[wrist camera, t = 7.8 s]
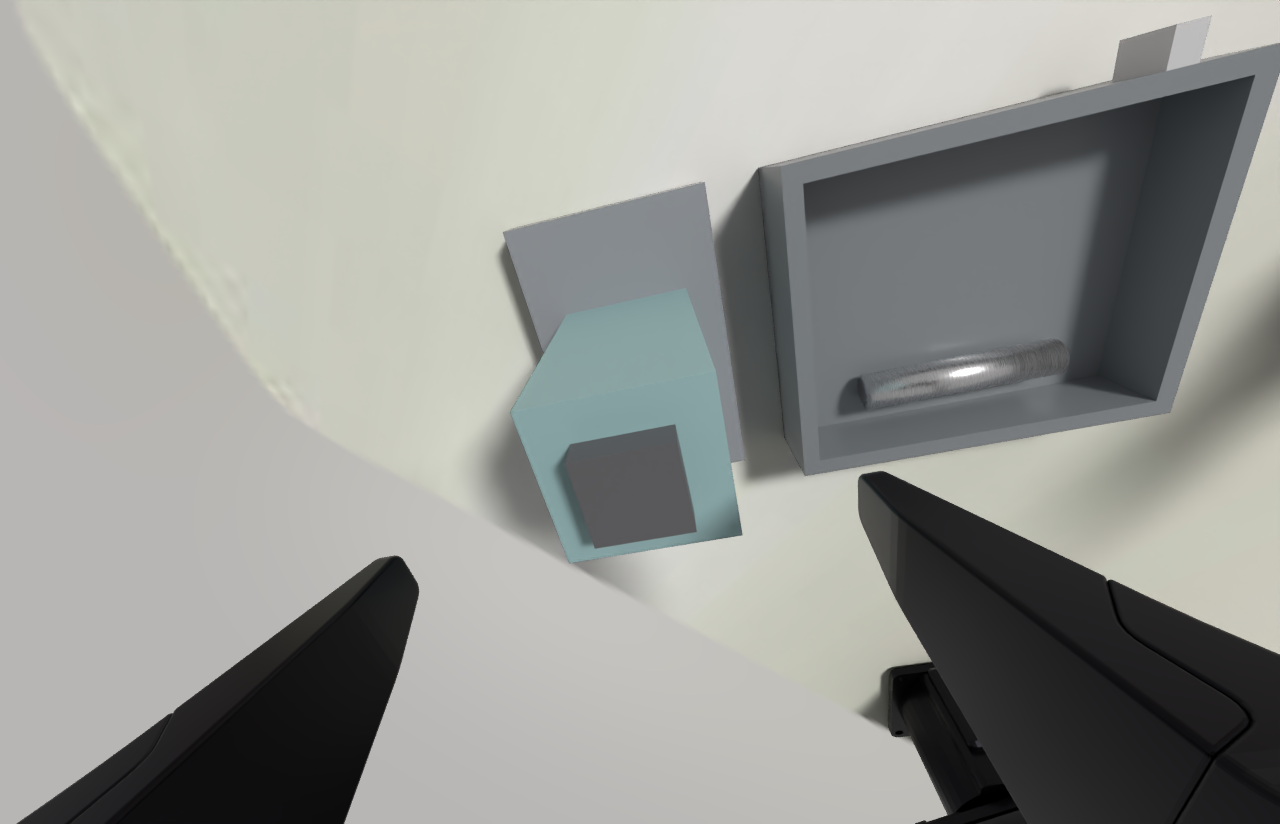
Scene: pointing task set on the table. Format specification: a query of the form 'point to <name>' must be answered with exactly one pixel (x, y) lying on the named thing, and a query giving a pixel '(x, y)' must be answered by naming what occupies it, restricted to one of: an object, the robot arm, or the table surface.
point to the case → (1012, 253)
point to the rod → (963, 373)
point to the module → (629, 431)
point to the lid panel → (629, 270)
